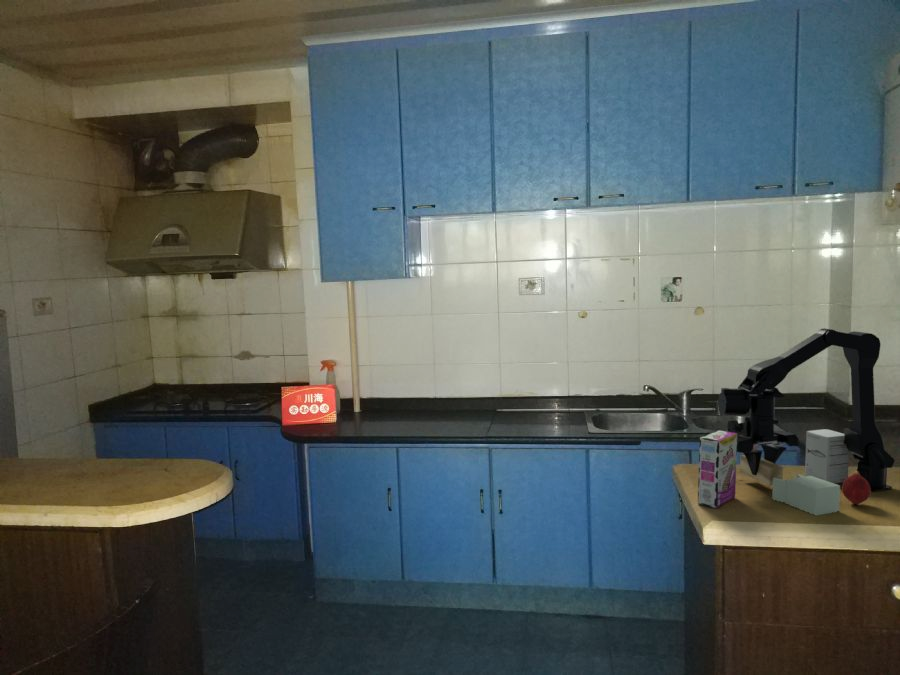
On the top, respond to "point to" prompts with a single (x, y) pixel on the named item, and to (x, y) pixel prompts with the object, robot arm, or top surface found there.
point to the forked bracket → (808, 494)
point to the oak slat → (762, 470)
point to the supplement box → (826, 455)
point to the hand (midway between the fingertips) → (760, 474)
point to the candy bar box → (717, 468)
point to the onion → (856, 488)
